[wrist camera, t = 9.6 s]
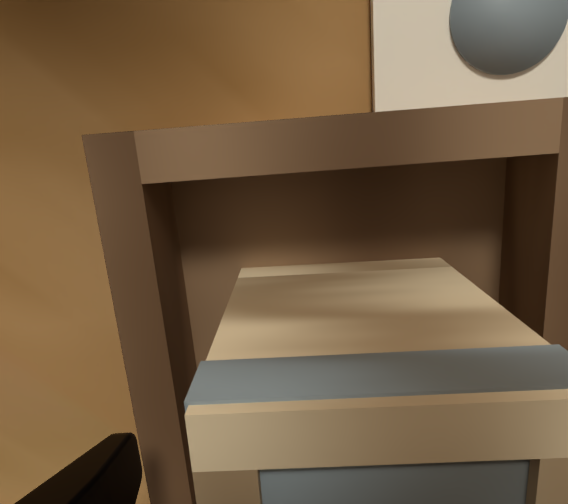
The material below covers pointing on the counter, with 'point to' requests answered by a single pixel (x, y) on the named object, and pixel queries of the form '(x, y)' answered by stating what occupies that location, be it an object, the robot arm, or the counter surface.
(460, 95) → the card
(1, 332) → the counter surface
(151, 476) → the open box
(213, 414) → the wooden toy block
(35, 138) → the counter surface
